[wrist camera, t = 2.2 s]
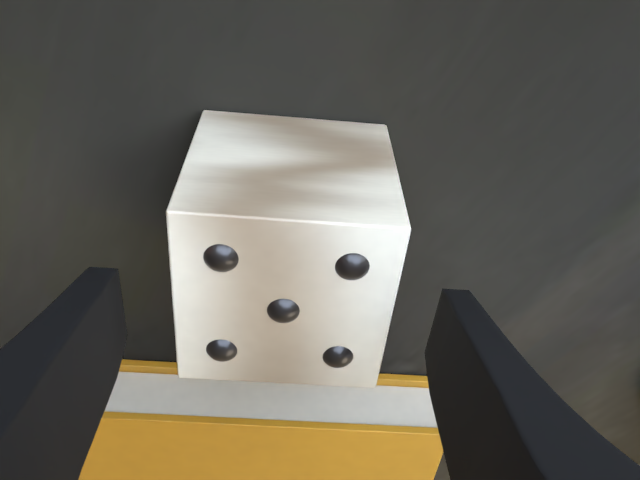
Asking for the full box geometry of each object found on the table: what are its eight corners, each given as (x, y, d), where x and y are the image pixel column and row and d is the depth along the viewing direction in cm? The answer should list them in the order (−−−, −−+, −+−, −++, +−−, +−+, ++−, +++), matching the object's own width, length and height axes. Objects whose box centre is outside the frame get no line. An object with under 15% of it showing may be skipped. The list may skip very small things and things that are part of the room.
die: (387, 124, 16) (413, 234, 12) (362, 266, 19) (376, 395, 15) (202, 109, 16) (163, 216, 12) (206, 256, 19) (176, 384, 14)
